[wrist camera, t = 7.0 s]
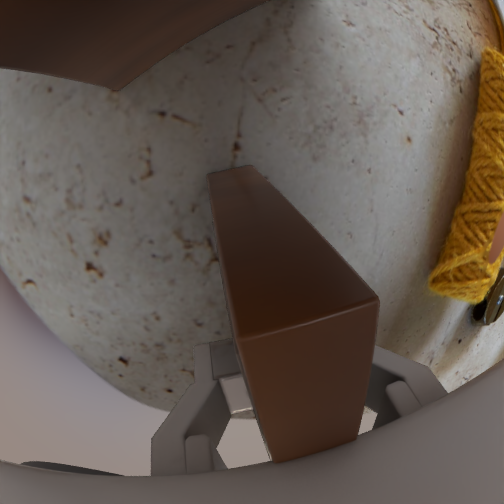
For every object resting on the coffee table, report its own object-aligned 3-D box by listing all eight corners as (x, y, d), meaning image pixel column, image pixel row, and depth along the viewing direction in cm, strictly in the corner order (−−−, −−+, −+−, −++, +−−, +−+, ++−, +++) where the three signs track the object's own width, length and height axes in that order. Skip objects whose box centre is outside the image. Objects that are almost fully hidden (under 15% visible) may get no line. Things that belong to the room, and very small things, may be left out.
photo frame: (252, 375, 15) (290, 522, 7) (202, 174, 10) (225, 342, 3) (286, 366, 15) (339, 508, 8) (254, 163, 10) (390, 295, 3)
